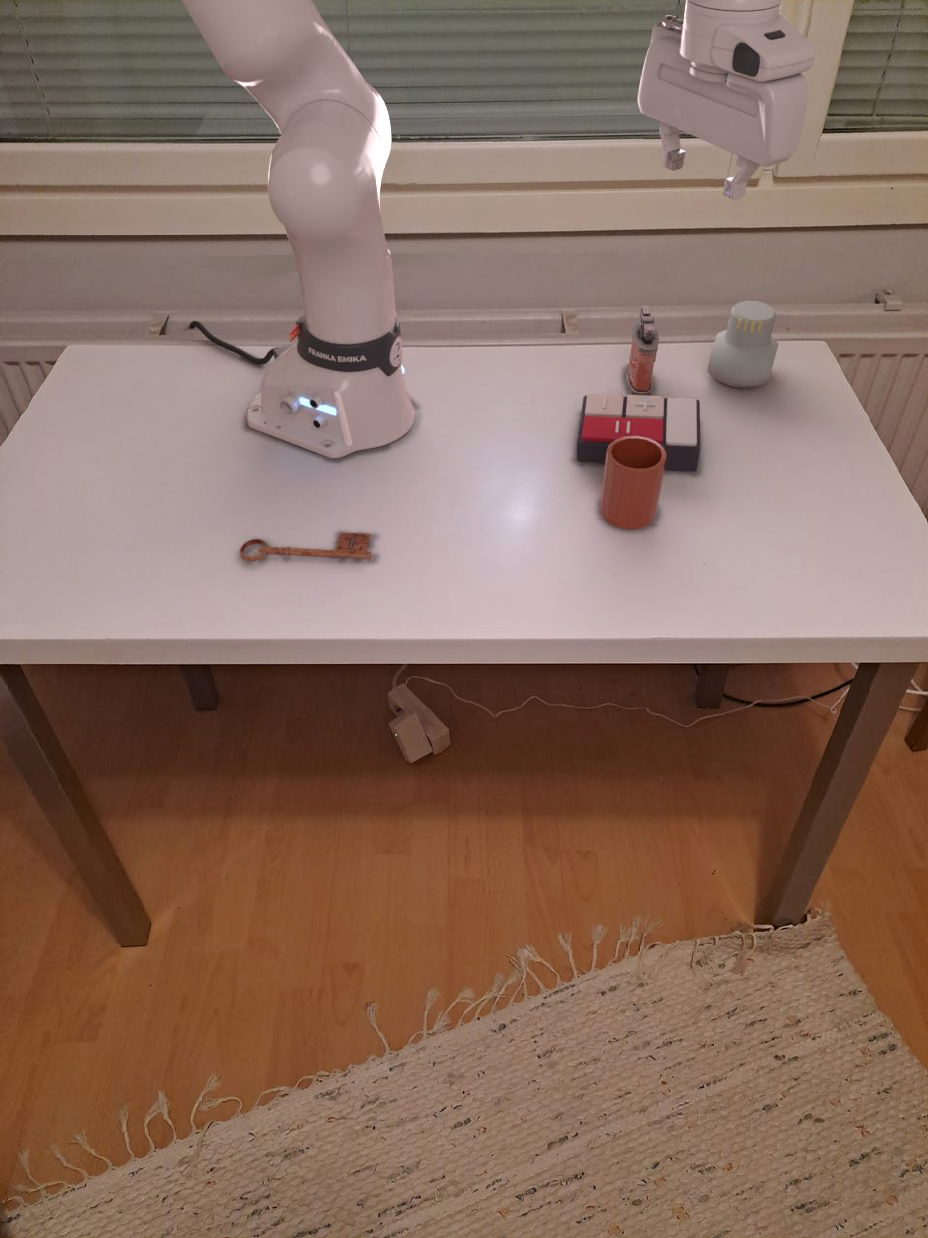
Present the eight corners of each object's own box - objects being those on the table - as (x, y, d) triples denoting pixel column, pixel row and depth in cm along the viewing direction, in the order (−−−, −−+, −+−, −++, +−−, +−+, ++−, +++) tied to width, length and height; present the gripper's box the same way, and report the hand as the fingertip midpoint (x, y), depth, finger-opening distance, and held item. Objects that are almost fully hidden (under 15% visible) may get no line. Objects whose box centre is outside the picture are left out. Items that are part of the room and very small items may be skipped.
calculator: (584, 389, 120) (700, 393, 118) (583, 417, 124) (696, 421, 121) (577, 438, 113) (701, 443, 111) (576, 466, 116) (697, 472, 114)
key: (375, 538, 107) (249, 532, 107) (375, 532, 106) (248, 525, 107) (368, 569, 102) (236, 562, 103) (367, 563, 102) (235, 556, 102)
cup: (593, 522, 108) (600, 464, 102) (607, 489, 112) (615, 431, 106) (649, 534, 106) (659, 476, 100) (660, 500, 110) (671, 442, 104)
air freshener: (762, 402, 124) (780, 335, 117) (701, 391, 126) (715, 324, 119) (773, 362, 131) (791, 296, 124) (716, 352, 133) (729, 286, 126)
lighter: (654, 398, 125) (665, 331, 118) (629, 398, 125) (638, 331, 118) (646, 366, 131) (656, 300, 124) (623, 366, 131) (631, 301, 124)
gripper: (632, 15, 93) (617, 157, 104) (781, 66, 82) (748, 221, 92) (679, 5, 96) (660, 146, 106) (830, 54, 84) (792, 207, 94)
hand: (702, 181), depth 99 cm, fingers open, 8 cm apart
